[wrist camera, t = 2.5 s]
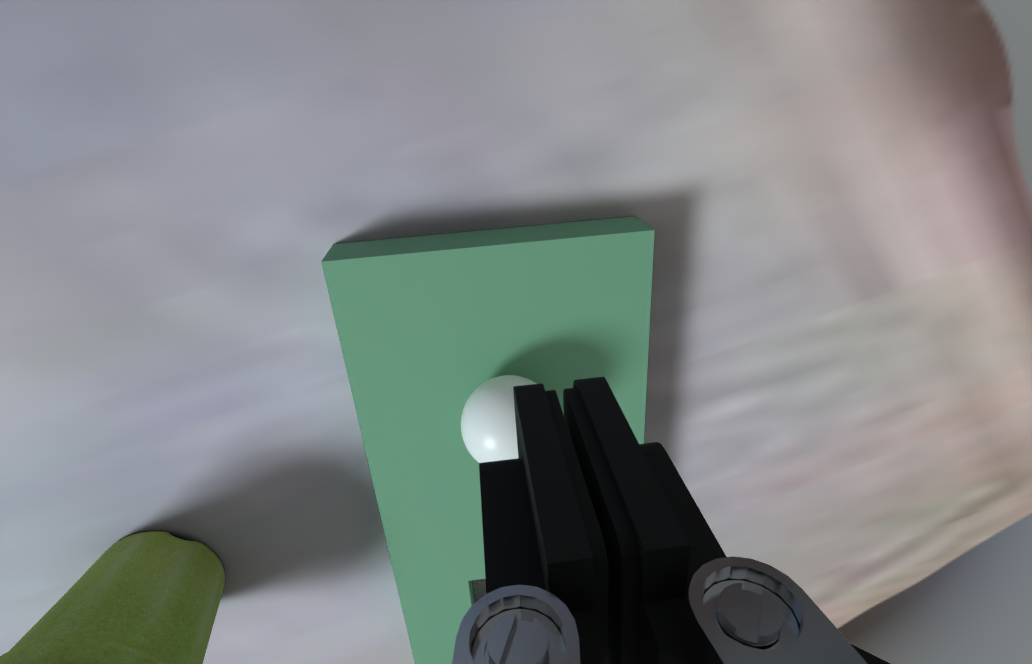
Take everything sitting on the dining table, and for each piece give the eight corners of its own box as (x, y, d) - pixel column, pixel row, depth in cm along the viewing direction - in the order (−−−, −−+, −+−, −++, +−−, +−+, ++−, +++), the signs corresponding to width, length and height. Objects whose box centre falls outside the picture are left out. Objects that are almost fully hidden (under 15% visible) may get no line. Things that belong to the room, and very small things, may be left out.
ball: (455, 363, 23) (456, 417, 19) (547, 353, 23) (565, 403, 19) (464, 439, 24) (467, 501, 21) (550, 429, 25) (568, 488, 21)
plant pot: (25, 536, 27) (-147, 722, 19) (200, 480, 27) (98, 646, 19) (136, 646, 31) (32, 835, 23) (288, 598, 31) (234, 774, 23)
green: (333, 244, 22) (308, 279, 18) (635, 215, 23) (673, 244, 19) (425, 662, 35) (422, 737, 31) (621, 632, 36) (642, 702, 32)
